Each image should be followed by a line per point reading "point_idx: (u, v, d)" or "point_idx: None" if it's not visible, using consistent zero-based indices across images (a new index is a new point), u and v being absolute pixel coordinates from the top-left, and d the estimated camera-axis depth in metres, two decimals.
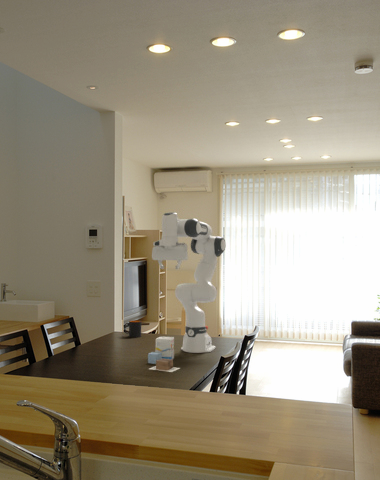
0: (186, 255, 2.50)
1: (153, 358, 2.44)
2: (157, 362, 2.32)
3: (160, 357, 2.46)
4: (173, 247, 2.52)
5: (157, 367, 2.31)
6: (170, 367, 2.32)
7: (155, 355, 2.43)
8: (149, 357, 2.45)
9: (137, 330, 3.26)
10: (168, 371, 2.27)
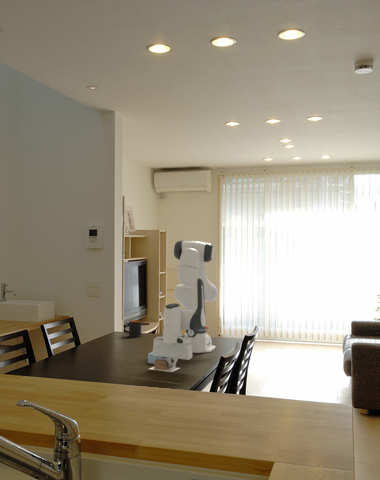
0: None
1: (153, 358, 2.44)
2: (155, 362, 2.32)
3: (160, 357, 2.46)
4: None
5: (155, 367, 2.32)
6: (168, 367, 2.33)
7: None
8: (149, 357, 2.45)
9: (137, 330, 3.26)
10: (168, 371, 2.27)
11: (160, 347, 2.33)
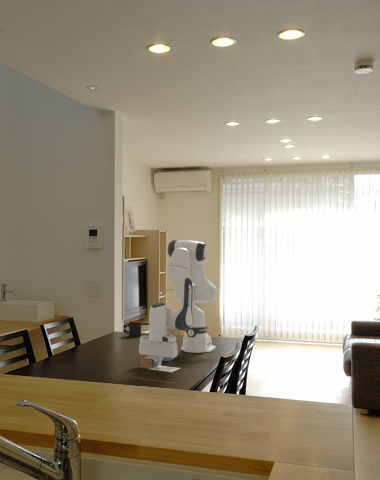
0: None
1: None
2: (141, 361, 2.35)
3: None
4: None
5: (141, 366, 2.35)
6: (154, 365, 2.36)
7: None
8: None
9: (137, 330, 3.26)
10: (168, 371, 2.27)
11: (146, 345, 2.36)
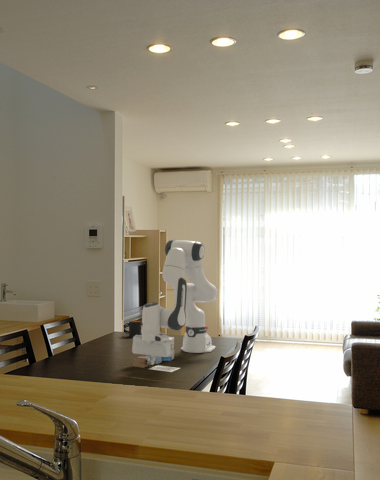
0: None
1: None
2: (134, 360, 2.37)
3: (160, 357, 2.46)
4: None
5: (134, 365, 2.37)
6: (147, 365, 2.38)
7: None
8: None
9: (137, 330, 3.26)
10: (168, 371, 2.27)
11: (139, 345, 2.38)
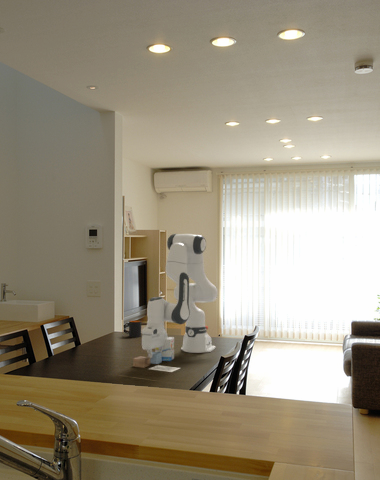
0: None
1: (153, 358, 2.44)
2: (134, 360, 2.37)
3: (160, 357, 2.46)
4: (161, 333, 2.48)
5: (134, 365, 2.37)
6: (147, 365, 2.38)
7: (155, 355, 2.43)
8: None
9: (137, 330, 3.26)
10: (168, 371, 2.27)
11: None
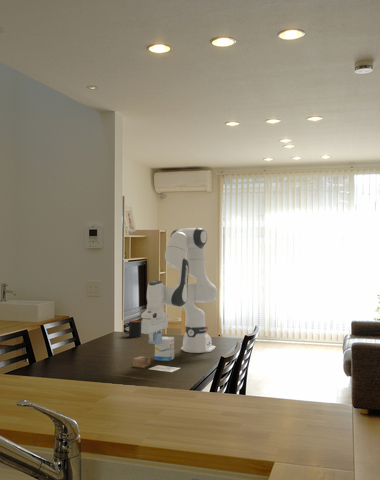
0: None
1: None
2: (134, 360, 2.37)
3: (160, 337, 2.47)
4: (161, 317, 2.49)
5: (134, 365, 2.37)
6: (147, 365, 2.38)
7: (155, 335, 2.44)
8: (149, 337, 2.46)
9: (137, 330, 3.26)
10: (168, 371, 2.27)
11: None
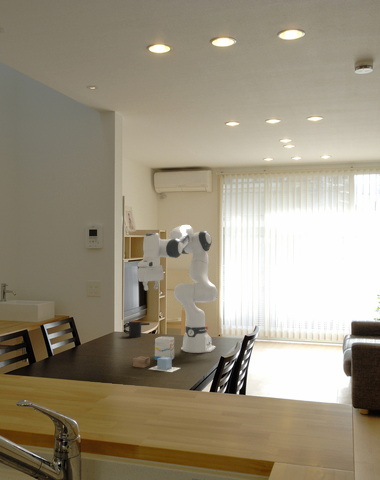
0: None
1: (163, 363, 2.31)
2: (134, 360, 2.37)
3: (170, 362, 2.33)
4: (157, 268, 2.56)
5: (134, 365, 2.37)
6: (147, 365, 2.38)
7: (165, 360, 2.30)
8: (158, 362, 2.32)
9: (137, 330, 3.26)
10: (168, 371, 2.27)
11: None
